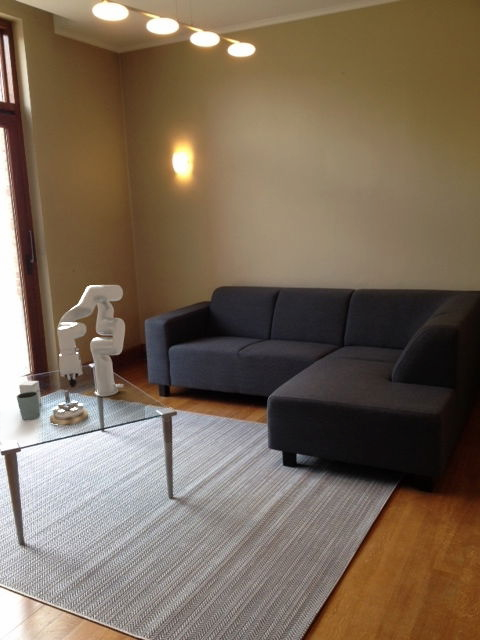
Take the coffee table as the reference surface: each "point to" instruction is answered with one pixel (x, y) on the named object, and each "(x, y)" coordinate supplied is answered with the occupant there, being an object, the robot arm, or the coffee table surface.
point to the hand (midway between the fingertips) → (73, 386)
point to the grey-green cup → (28, 405)
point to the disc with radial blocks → (68, 409)
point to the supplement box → (31, 388)
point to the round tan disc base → (70, 421)
